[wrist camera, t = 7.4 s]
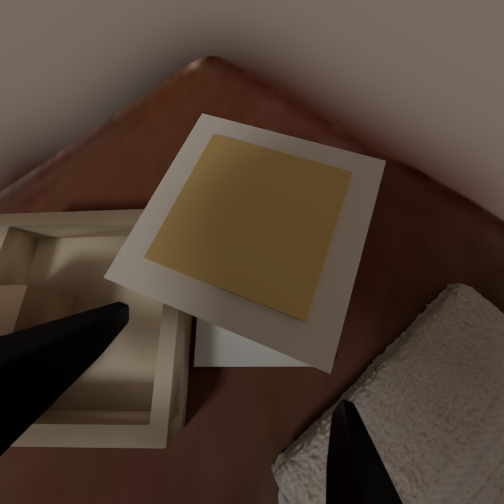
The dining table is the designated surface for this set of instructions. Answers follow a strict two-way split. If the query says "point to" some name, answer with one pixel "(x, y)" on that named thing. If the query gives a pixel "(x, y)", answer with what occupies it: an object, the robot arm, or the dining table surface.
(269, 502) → the dining table surface
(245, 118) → the dining table surface
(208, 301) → the cream box
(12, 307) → the walnut box
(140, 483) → the dining table surface
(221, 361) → the coaster
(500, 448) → the washcloth
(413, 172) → the dining table surface
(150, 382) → the tray
